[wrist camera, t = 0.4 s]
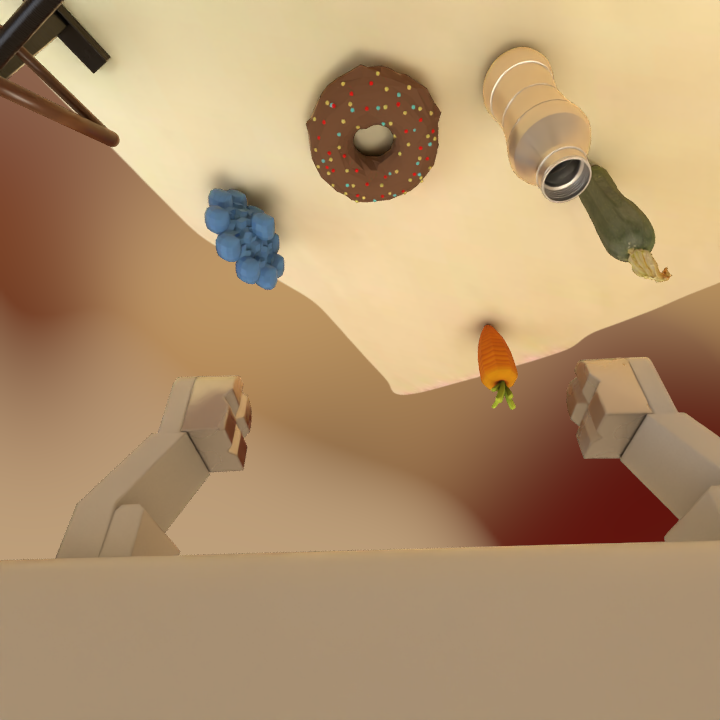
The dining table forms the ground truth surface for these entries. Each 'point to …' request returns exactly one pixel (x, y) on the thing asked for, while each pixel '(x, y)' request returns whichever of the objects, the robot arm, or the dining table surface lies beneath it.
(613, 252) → the vegetable
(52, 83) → the hanger
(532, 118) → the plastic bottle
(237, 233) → the grapes
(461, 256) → the dining table surface
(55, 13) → the rail
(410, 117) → the donut
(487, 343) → the carrot
